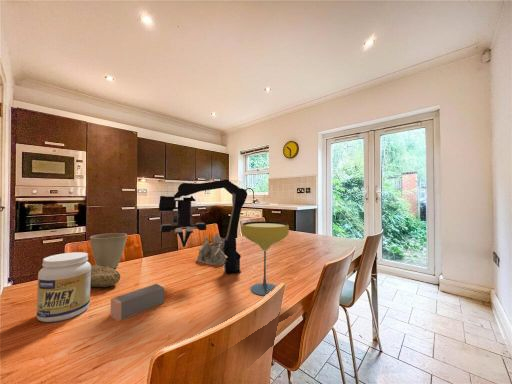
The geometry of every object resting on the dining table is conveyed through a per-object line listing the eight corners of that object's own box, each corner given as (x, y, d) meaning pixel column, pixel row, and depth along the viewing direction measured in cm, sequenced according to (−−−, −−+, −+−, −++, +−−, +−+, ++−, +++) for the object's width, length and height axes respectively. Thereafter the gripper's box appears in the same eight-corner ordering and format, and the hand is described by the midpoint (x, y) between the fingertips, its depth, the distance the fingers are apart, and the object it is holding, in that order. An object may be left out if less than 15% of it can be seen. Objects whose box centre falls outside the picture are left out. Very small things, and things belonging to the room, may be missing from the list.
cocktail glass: (245, 279, 94) (246, 220, 95) (288, 281, 92) (288, 221, 92) (236, 298, 76) (237, 226, 77) (288, 302, 74) (289, 228, 74)
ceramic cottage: (197, 257, 127) (199, 231, 126) (226, 257, 129) (227, 232, 129) (194, 267, 111) (195, 238, 111) (226, 267, 114) (228, 239, 113)
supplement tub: (26, 328, 58) (28, 264, 59) (48, 307, 69) (49, 253, 70) (83, 318, 63) (84, 259, 64) (94, 300, 74) (96, 249, 75)
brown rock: (76, 284, 91) (76, 289, 76) (81, 264, 93) (82, 265, 78) (113, 282, 99) (120, 287, 84) (116, 264, 101) (124, 266, 86)
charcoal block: (156, 283, 76) (110, 298, 65) (164, 287, 73) (117, 303, 62) (156, 298, 76) (110, 315, 65) (163, 302, 73) (117, 321, 62)
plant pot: (127, 270, 104) (128, 236, 105) (88, 276, 96) (89, 239, 96) (125, 262, 117) (125, 231, 117) (90, 266, 108) (90, 234, 109)
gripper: (202, 209, 108) (201, 241, 108) (161, 210, 101) (160, 244, 100) (206, 211, 98) (206, 246, 98) (161, 212, 91) (160, 250, 90)
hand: (183, 246), depth 97 cm, fingers closed
